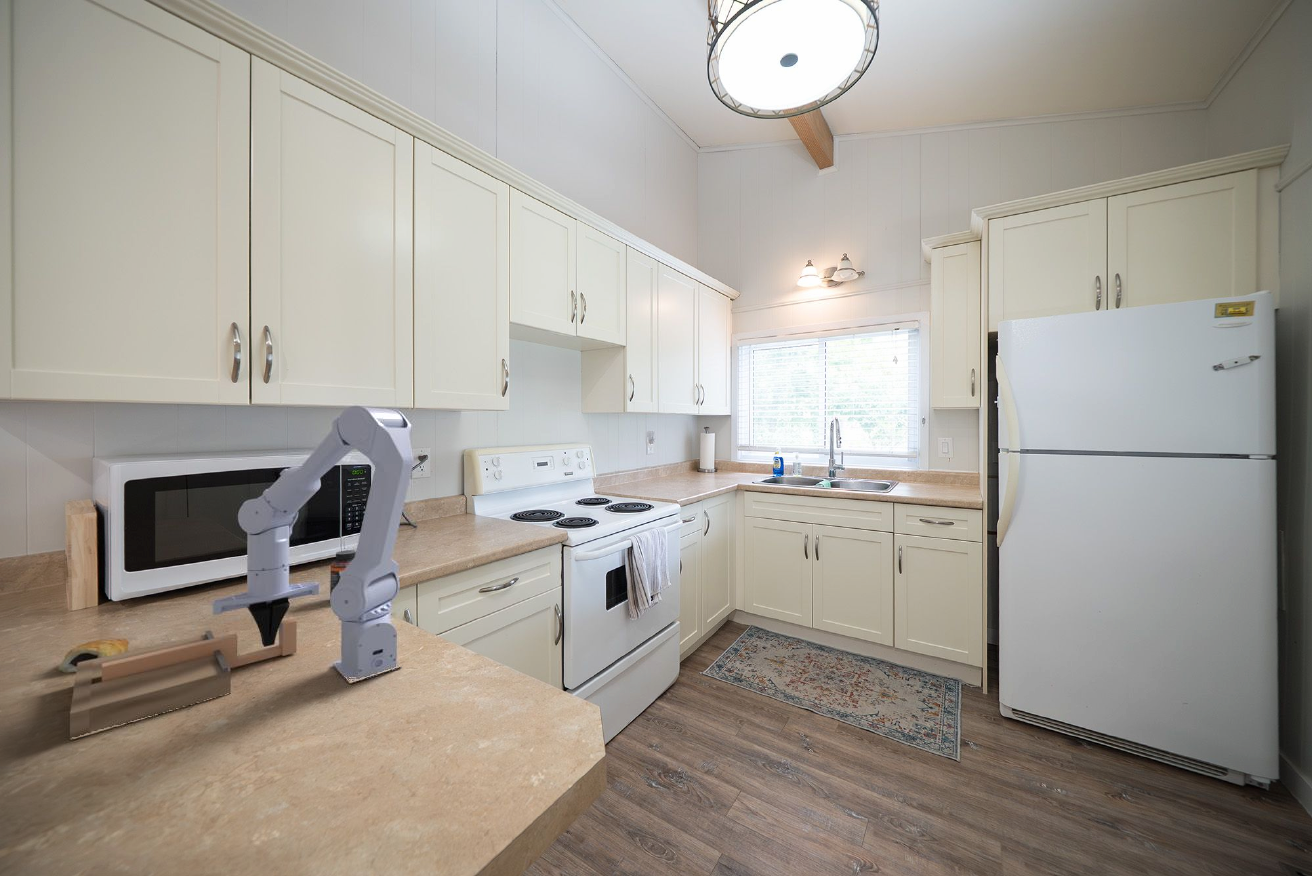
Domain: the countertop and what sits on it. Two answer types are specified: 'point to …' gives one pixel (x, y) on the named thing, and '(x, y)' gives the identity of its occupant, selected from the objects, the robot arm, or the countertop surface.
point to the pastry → (92, 652)
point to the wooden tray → (144, 688)
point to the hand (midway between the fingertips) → (268, 644)
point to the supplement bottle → (340, 566)
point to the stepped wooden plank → (203, 653)
